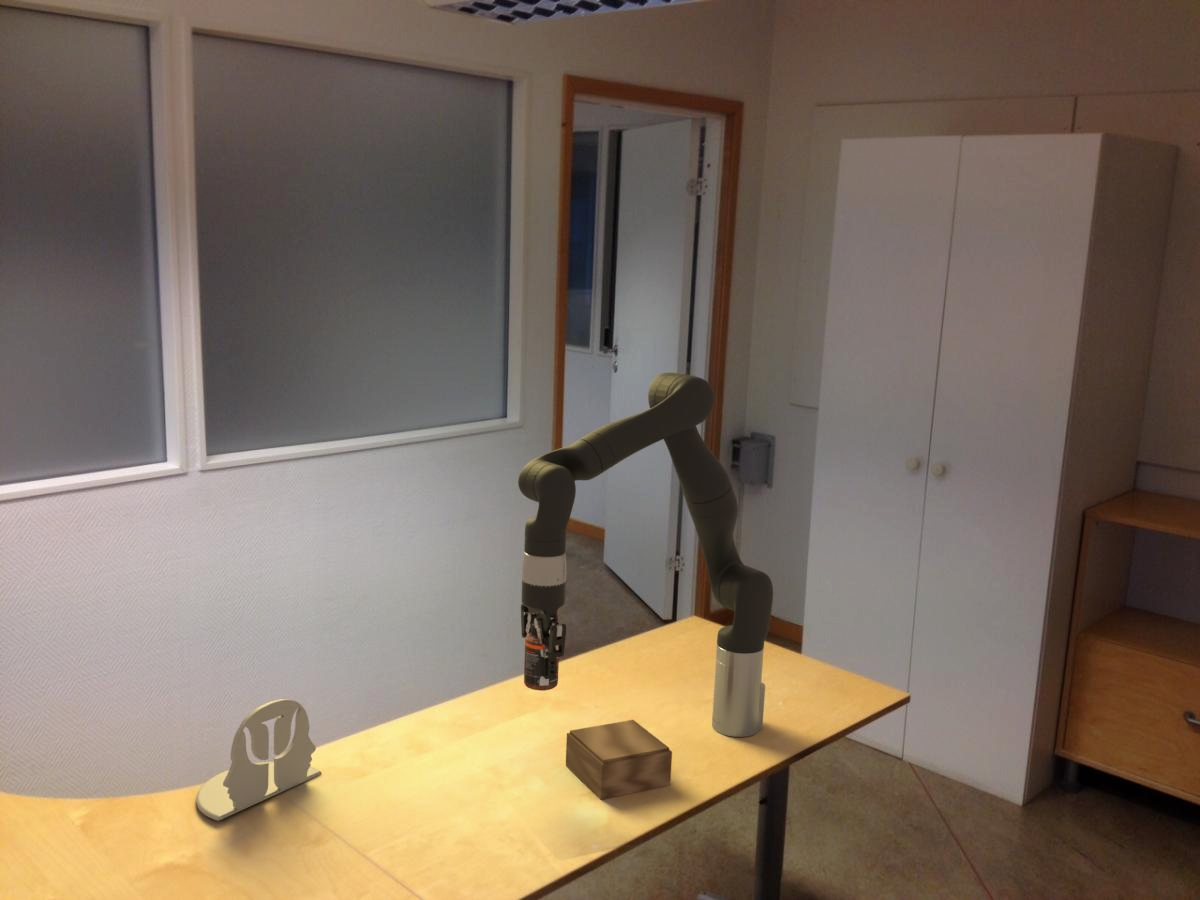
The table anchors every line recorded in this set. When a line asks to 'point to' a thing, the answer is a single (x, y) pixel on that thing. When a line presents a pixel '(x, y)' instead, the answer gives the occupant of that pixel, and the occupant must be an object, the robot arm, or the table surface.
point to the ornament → (261, 779)
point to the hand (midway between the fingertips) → (541, 670)
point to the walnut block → (618, 759)
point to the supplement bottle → (536, 664)
